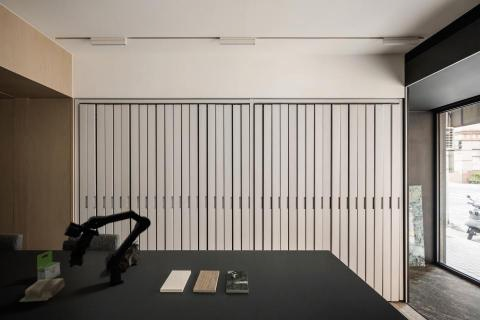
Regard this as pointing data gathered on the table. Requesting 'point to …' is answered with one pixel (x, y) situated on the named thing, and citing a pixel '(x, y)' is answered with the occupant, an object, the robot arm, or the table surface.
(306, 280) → the table surface
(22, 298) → the mat
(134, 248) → the hollow geode rock
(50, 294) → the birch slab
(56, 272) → the ink box
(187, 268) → the table surface
